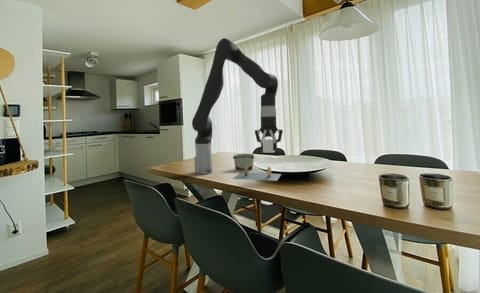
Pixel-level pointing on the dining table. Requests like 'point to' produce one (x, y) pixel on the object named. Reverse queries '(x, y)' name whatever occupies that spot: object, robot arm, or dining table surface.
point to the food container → (243, 161)
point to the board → (257, 175)
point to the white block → (268, 146)
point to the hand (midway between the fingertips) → (269, 150)
